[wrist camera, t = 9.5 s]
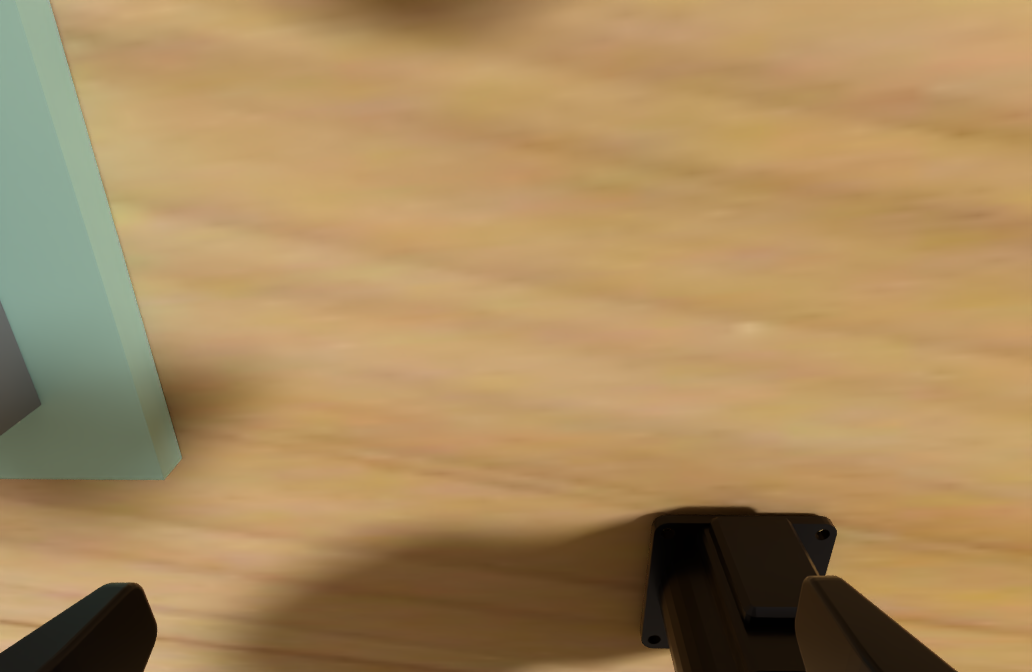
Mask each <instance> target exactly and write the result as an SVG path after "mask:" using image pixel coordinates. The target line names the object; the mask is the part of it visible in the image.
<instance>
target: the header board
mask: <svg viewBox="0 0 1032 672" xmlns="http://www.w3.org/2000/svg"><path fill="white" fill-rule="evenodd" d="M0 301H1V303H2V306H3V309H4V311H5V314H6V316H7V319H8V321H9V324H10V326H11V329H12V331H13V334H14V336H15V339H16V341H17V344H18V346H19V349H20V351H21V354H22V357H23V359H24V362H25V364H26V367H27V369H28V372H29V374H30V377H31V379H32V382H33V384H34V387H35V389H36V392H37V394H38V397H39V399H40V402H41V406H39V407H38V408H37V409H35V410H34V411H33V412H31V413H30V414H29V415H27V416H26V417H25V418H23V419H22V420H21V421H19V422H18V423H17V424H15V425H14V426H13V427H11V428H10V429H9V430H7V431H6V432H5V433H3V434H2V435H1V436H0V479H86V480H165V478H166V477H167V476H168V475H169V474H170V472H171V471H172V470H173V469H174V467H175V466H176V465H177V464H178V463H179V461H180V460H181V459H182V456H181V453H180V449H179V446H178V442H177V439H176V436H175V432H174V429H173V425H172V422H171V418H170V415H169V411H168V408H167V404H166V401H165V398H164V394H163V391H162V387H161V384H160V380H159V377H158V373H157V370H156V367H155V363H154V360H153V356H152V353H151V349H150V346H149V342H148V339H147V336H146V332H145V329H144V325H143V322H142V318H141V315H140V311H139V308H138V305H137V301H136V298H135V294H134V291H133V287H132V284H131V280H130V277H129V274H128V270H127V267H126V263H125V260H124V256H123V253H122V249H121V246H120V242H119V239H118V236H117V232H116V229H115V225H114V222H113V218H112V215H111V211H110V208H109V205H108V201H107V198H106V194H105V191H104V187H103V184H102V180H101V177H100V174H99V170H98V167H97V163H96V160H95V156H94V153H93V149H92V146H91V143H90V139H89V136H88V132H87V129H86V125H85V122H84V118H83V115H82V112H81V108H80V105H79V101H78V98H77V94H76V91H75V87H74V84H73V80H72V77H71V74H70V70H69V67H68V63H67V60H66V56H65V53H64V49H63V46H62V43H61V39H60V36H59V32H58V29H57V25H56V22H55V18H54V15H53V12H52V8H51V5H50V1H49V0H0Z"/></svg>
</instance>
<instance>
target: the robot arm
mask: <svg viewBox="0 0 1032 672" xmlns="http://www.w3.org/2000/svg"><path fill="white" fill-rule="evenodd" d="M666 528H671V529H670V530H669V531H662V530H664V529H666ZM822 529H823V530H822ZM819 530H822V531H820V532H818V531H819ZM836 536H837V530H836V529H835V527H834V525H833V524H832V522H831V521H830V519H828V518H827V517H823V516H726V515H664V516H660V517H658V518H657V519H656V520H655V521H654V522H653V524H652V530H651V539H650V548H649V556H648V565H647V574H646V583H645V591H644V600H643V609H642V617H641V626H640V634H641V639H642V643H643V644H644V646H646V647H648V648H670V652H671V657H672V661H673V665H674V670H675V672H957V671H956V670H955V669H954V668H952V667H951V666H950V665H949V664H947V663H946V662H945V661H944V660H943V659H941V658H940V657H939V656H938V655H936V654H935V653H934V652H933V651H931V650H930V649H929V648H928V647H926V646H925V645H924V644H923V643H921V642H920V641H919V640H918V639H916V638H915V637H914V636H913V635H911V634H910V633H909V632H908V631H906V630H905V629H904V628H903V627H902V626H900V625H899V624H898V623H897V622H895V621H894V620H893V619H892V618H890V617H889V616H888V615H887V614H885V613H884V612H883V611H882V610H880V609H879V608H878V607H877V606H875V605H874V604H873V603H872V602H870V601H869V600H868V599H867V598H866V597H864V596H863V595H862V594H861V593H859V592H858V591H857V590H856V589H854V588H853V587H852V586H851V585H849V584H848V583H847V582H846V581H844V580H843V579H841V578H839V577H837V576H825V574H826V571H827V567H828V564H829V560H830V557H831V553H832V550H833V546H834V543H835V539H836ZM156 637H157V624H156V620H155V618H154V615H153V613H152V610H151V608H150V605H149V603H148V600H147V598H146V595H145V592H144V590H143V588H142V587H141V586H140V585H139V584H137V583H109V584H106V585H103V586H102V587H100V588H98V589H97V590H95V591H94V592H92V593H91V594H89V595H88V596H86V597H85V598H83V599H82V600H80V601H79V602H77V603H76V604H74V605H73V606H71V607H70V608H68V609H67V610H65V611H63V612H62V613H60V614H59V615H57V616H56V617H54V618H53V619H51V620H50V621H48V622H47V623H45V624H44V625H42V626H41V627H39V628H38V629H36V630H35V631H33V632H32V633H30V634H29V635H27V636H26V637H24V638H23V639H21V640H20V641H18V642H17V643H15V644H14V645H12V646H11V647H9V648H8V649H6V650H5V651H3V652H1V653H0V672H144V669H145V667H146V664H147V662H148V659H149V657H150V654H151V652H152V649H153V647H154V644H155V641H156Z"/></svg>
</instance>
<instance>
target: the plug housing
mask: <svg viewBox="0 0 1032 672" xmlns="http://www.w3.org/2000/svg"><path fill="white" fill-rule="evenodd" d="M39 406H41V402H40V399H39V397H38V394H37V392H36V389H35V387H34V384H33V382H32V379H31V377H30V374H29V372H28V369H27V367H26V364H25V362H24V359H23V357H22V354H21V351H20V349H19V346H18V344H17V341H16V339H15V336H14V334H13V331H12V329H11V326H10V324H9V321H8V319H7V316H6V314H5V311H4V309H3V306H2V303H1V301H0V436H1V435H2V434H3V433H5V432H6V431H7V430H9V429H10V428H11V427H13V426H14V425H15V424H17V423H18V422H19V421H21V420H22V419H23V418H25V417H26V416H27V415H29V414H30V413H31V412H33V411H34V410H35V409H37V408H38V407H39Z"/></svg>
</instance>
